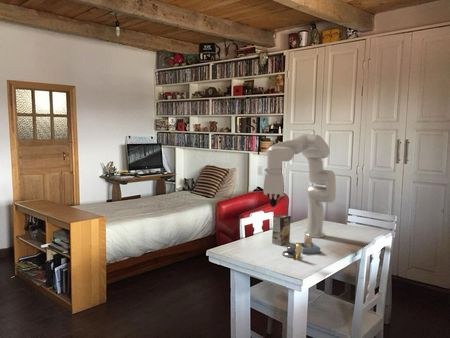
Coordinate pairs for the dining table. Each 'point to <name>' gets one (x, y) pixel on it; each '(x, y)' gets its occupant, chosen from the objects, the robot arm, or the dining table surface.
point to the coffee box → (281, 229)
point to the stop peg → (307, 242)
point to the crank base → (289, 255)
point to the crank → (292, 250)
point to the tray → (309, 249)
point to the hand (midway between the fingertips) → (273, 206)
